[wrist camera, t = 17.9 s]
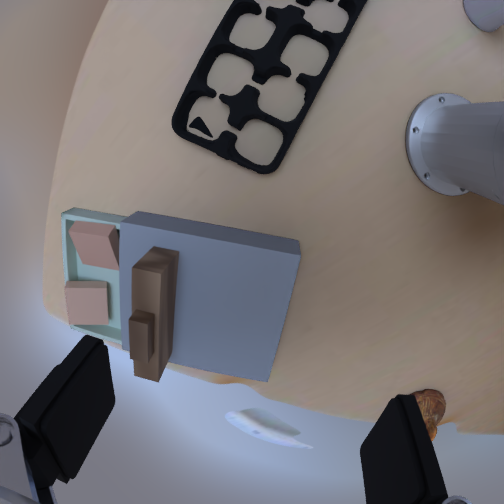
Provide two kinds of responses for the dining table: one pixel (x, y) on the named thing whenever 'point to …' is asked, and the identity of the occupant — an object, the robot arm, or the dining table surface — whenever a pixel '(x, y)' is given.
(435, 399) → the bell
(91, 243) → the tile
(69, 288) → the tile
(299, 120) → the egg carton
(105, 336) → the tray
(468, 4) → the beer glass
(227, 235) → the board
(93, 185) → the dining table surface
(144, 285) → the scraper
